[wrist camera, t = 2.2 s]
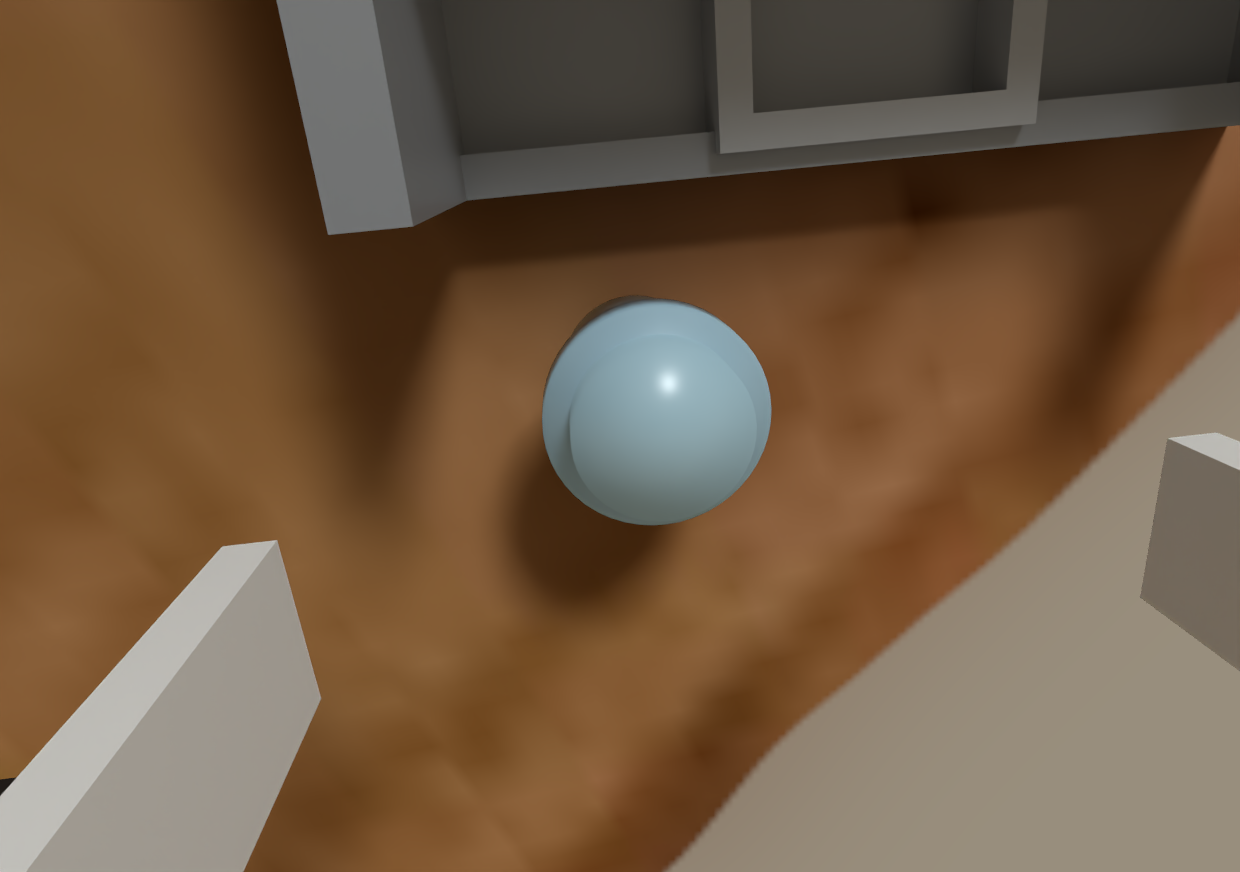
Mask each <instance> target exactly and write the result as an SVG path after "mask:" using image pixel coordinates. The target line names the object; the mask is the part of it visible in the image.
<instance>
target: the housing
mask: <svg viewBox="0 0 1240 872" xmlns="http://www.w3.org/2000/svg"><path fill="white" fill-rule="evenodd" d="M276 1H277V5H278V10H279V14H280V19H281V23H282V28H283V32H284V37H285V41H286V46H287V51H288V55H289V60H290V64H291V69H292V73H293V78H294V82H295V87H296V91H297V96H298V101H299V105H300V110H301V114H302V119H303V123H304V128H305V132H306V137H307V141H308V146H309V151H310V155H311V160H312V164H313V169H314V173H315V178H316V182H317V187H318V191H319V196H320V201H321V205H322V210H323V214H324V219H325V223H326V228H327V232H328V235H333V234H343V233H353V232H363V231H373V230H383V229H393V228H404V227H413V226H415V225H417V224H419V223H422V222H424V221H426V220H428V219H430V218H432V217H434V216H436V215H438V214H440V213H442V212H444V211H446V210H448V209H450V208H452V207H454V206H456V205H459V204H461V203H463V202H465V201H467V200H477V199H487V198H497V197H508V196H518V195H528V194H538V193H549V192H559V191H569V190H579V189H590V188H600V187H610V186H620V185H631V184H641V183H651V182H661V181H672V180H682V179H692V178H702V177H713V176H723V175H733V174H743V173H754V172H764V171H774V170H784V169H795V168H805V167H815V166H825V165H836V164H846V163H856V162H866V161H877V160H887V159H897V158H907V157H918V156H928V155H938V154H948V153H958V152H969V151H979V150H989V149H999V148H1010V147H1020V146H1030V145H1040V144H1051V143H1061V142H1071V141H1081V140H1092V139H1102V138H1112V137H1122V136H1133V135H1143V134H1153V133H1163V132H1174V131H1184V130H1194V129H1204V128H1215V127H1225V126H1235V125H1240V0H276Z"/></svg>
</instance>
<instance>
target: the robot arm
mask: <svg viewBox="0 0 1240 872" xmlns="http://www.w3.org/2000/svg"><path fill="white" fill-rule="evenodd" d="M1140 598H1142V599H1143V600H1144V601H1146V602H1147V603H1148V604H1150V605H1151V606H1153V607H1154V608H1155V609H1156V610H1158V611H1159V612H1161V613H1162V614H1163V615H1165V616H1166V617H1168V618H1169V619H1170V620H1171V621H1173V622H1174V623H1175V624H1177V625H1178V626H1179V627H1181V628H1182V629H1184V630H1185V631H1186V632H1188V633H1189V634H1190V635H1192V636H1193V637H1194V638H1196V639H1197V640H1199V641H1200V642H1201V643H1202V644H1204V645H1205V646H1207V647H1208V648H1209V649H1211V650H1212V651H1213V652H1215V653H1216V654H1217V655H1219V656H1220V657H1221V658H1223V659H1224V660H1225V661H1227V662H1228V663H1229V664H1231V665H1232V666H1234V667H1235V668H1236V669H1238V670H1239V671H1240V442H1239V441H1237V440H1234V439H1232V438H1229V437H1227V436H1224V435H1222V434H1219V433H1209V434H1200V435H1192V436H1182V437H1174V438H1168V439H1167V445H1166V450H1165V456H1164V462H1163V468H1162V474H1161V480H1160V486H1159V492H1158V497H1157V503H1156V509H1155V514H1154V520H1153V526H1152V532H1151V538H1150V543H1149V549H1148V555H1147V561H1146V567H1145V573H1144V578H1143V584H1142V591H1141V596H1140ZM320 700H321V697H320V693H319V690H318V686H317V682H316V679H315V675H314V671H313V668H312V664H311V661H310V657H309V653H308V650H307V646H306V643H305V639H304V635H303V632H302V628H301V625H300V621H299V617H298V614H297V610H296V607H295V603H294V599H293V596H292V592H291V589H290V585H289V581H288V578H287V574H286V571H285V567H284V563H283V560H282V556H281V553H280V549H279V545H278V542H277V540H275V541H266V542H258V543H249V544H240V545H232V546H223V547H221V549H220V550H219V551H218V552H217V553H216V554H215V555H214V556H213V558H212V559H211V560H210V561H209V562H208V563H207V564H206V565H205V567H204V568H203V569H202V570H201V571H200V572H199V573H198V574H197V576H196V577H195V578H194V579H193V580H192V581H191V582H190V583H189V585H188V586H187V587H186V588H185V589H184V590H183V591H182V592H181V594H180V595H179V596H178V597H177V598H176V599H175V600H174V601H173V603H172V604H171V605H170V606H169V607H168V608H167V609H166V610H165V612H164V613H163V614H162V615H161V616H160V617H159V618H158V619H157V621H156V622H155V623H154V624H153V625H152V626H151V627H150V628H149V630H148V631H147V632H146V633H145V634H144V635H143V636H142V637H141V639H140V640H139V641H138V642H137V643H136V644H135V645H134V646H133V647H132V649H131V650H130V651H129V652H128V653H127V654H126V655H125V656H124V658H123V659H122V660H121V661H120V662H119V663H118V664H117V665H116V667H115V668H114V669H113V670H112V671H111V672H110V673H109V674H108V676H107V677H106V678H105V679H104V680H103V681H102V682H101V683H100V685H99V686H98V687H97V688H96V689H95V690H94V691H93V692H92V694H91V695H90V696H89V697H88V698H87V699H86V700H85V701H84V703H83V704H82V705H81V706H80V707H79V708H78V709H77V710H76V712H75V713H74V714H73V715H72V716H71V717H70V718H69V719H68V721H67V722H66V723H65V724H64V725H63V726H62V727H61V728H60V730H59V731H58V732H57V733H56V734H55V735H54V736H53V737H52V739H51V740H50V741H49V742H48V743H47V744H46V745H45V746H44V748H43V749H42V750H41V751H40V752H39V753H38V754H37V755H36V757H35V758H34V759H33V760H32V761H31V762H30V763H29V764H28V765H27V767H26V768H25V769H24V770H23V771H22V772H21V773H20V774H19V776H18V777H17V778H9V779H1V780H0V872H243V871H244V869H245V867H246V865H247V862H248V860H249V858H250V856H251V854H252V851H253V849H254V847H255V845H256V842H257V840H258V838H259V836H260V834H261V831H262V829H263V827H264V825H265V822H266V820H267V818H268V816H269V813H270V811H271V809H272V807H273V805H274V802H275V800H276V798H277V796H278V793H279V791H280V789H281V787H282V784H283V782H284V780H285V778H286V776H287V773H288V771H289V769H290V767H291V764H292V762H293V760H294V758H295V756H296V753H297V751H298V749H299V747H300V744H301V742H302V740H303V738H304V735H305V733H306V731H307V729H308V727H309V724H310V722H311V720H312V718H313V715H314V713H315V711H316V709H317V707H318V704H319V702H320Z"/></svg>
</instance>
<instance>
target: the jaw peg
mask: <svg viewBox="0 0 1240 872" xmlns="http://www.w3.org/2000/svg"><path fill="white" fill-rule="evenodd" d="M770 423H771V400H770V392H769V388H768V383H767V380H766V377H765V375H764V372H763V369H762V367H761V365H760V363H759V362H758V360H757V358H756V356H755V355H754V353H753V352H752V351H751V349H750V348H749V347H748V345H747V344H746V343H745V342H744V341H743V340H742V339H741V338H740V337H739V336H738V335H737V334H736V333H735V332H734V331H733V330H732V329H731V328H730V327H728V326H727V325H726V324H725V323H724V322H722V321H721V320H720V319H718V318H717V317H716V316H714V315H713V314H711V313H709V312H707V311H705V310H704V309H702V308H699V307H697V306H694V305H691V304H689V303H685V302H680V301H676V300H669V299H656V298H652V297H648V296H638V295H636V296H624V297H619V298H616V299H612V300H609V301H607V302H605V303H603V304H601V305H599V306H598V307H596V308H595V309H593V310H592V311H591V312H590V313H588V314H587V315H586V316H585V317H584V318H583V319H582V320H581V322H580V323H579V324H578V326H577V327H576V328H575V330H574V332H573V334H572V336H571V337H570V338H569V339H568V340H567V341H566V342H565V344H564V345H563V347H562V348H561V350H560V351H559V352H558V354H557V356H556V358H555V360H554V362H553V364H552V366H551V368H550V371H549V374H548V376H547V379H546V384H545V389H544V394H543V408H542V425H543V437H544V441H545V446H546V450H547V453H548V456H549V459H550V461H551V464H552V465H553V467H554V469H555V471H556V473H557V475H558V476H559V478H560V479H561V481H562V482H563V483H564V485H565V486H566V487H567V488H568V489H569V490H570V491H571V492H572V494H573V495H574V496H575V497H577V498H578V499H579V500H580V501H582V502H583V503H584V504H585V505H587V506H588V507H590V508H592V509H593V510H595V511H597V512H598V513H601V514H603V515H605V516H607V517H609V518H612V519H616V520H619V521H622V522H627V523H632V524H638V525H664V524H671V523H676V522H681V521H684V520H687V519H691V518H694V517H696V516H698V515H701V514H703V513H705V512H707V511H709V510H711V509H713V508H714V507H716V506H718V505H719V504H721V503H722V502H723V501H725V500H726V499H727V498H729V497H730V496H731V495H732V494H733V493H734V492H735V491H736V490H737V489H738V488H739V487H741V485H742V484H743V483H744V482H745V481H746V479H747V478H748V477H749V476H750V474H751V473H752V471H753V470H754V468H755V466H756V465H757V463H758V461H759V459H760V457H761V455H762V453H763V451H764V448H765V445H766V441H767V438H768V434H769V429H770Z"/></svg>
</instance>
